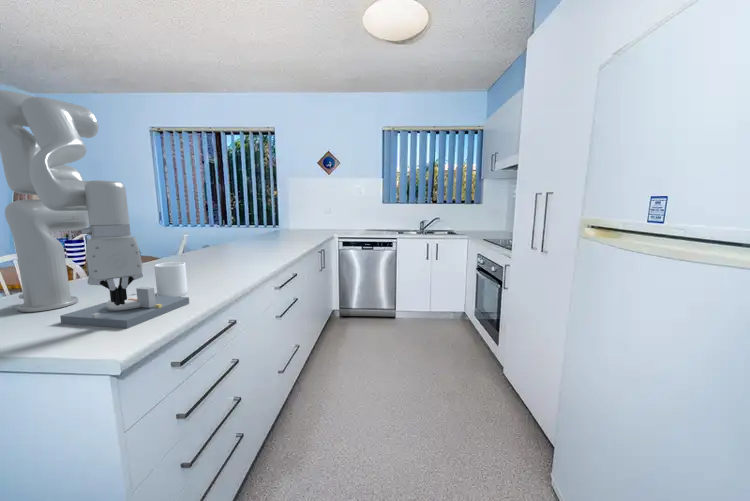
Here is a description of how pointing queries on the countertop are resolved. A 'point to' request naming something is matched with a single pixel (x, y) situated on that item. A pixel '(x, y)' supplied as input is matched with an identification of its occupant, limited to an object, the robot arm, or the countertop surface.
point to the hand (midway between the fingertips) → (119, 303)
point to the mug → (171, 279)
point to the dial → (136, 300)
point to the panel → (123, 313)
